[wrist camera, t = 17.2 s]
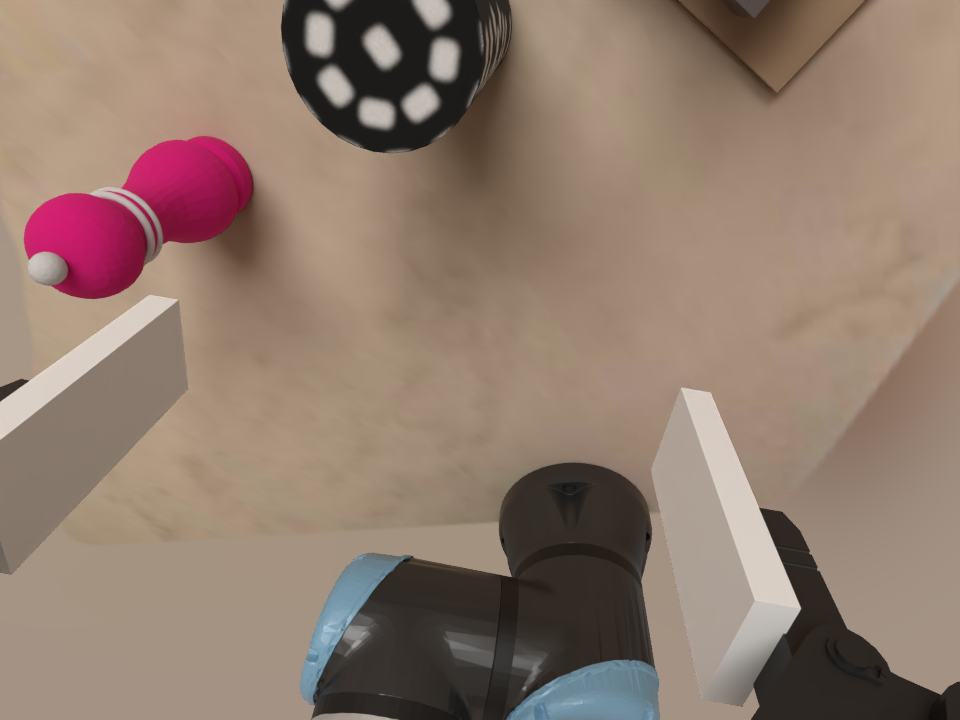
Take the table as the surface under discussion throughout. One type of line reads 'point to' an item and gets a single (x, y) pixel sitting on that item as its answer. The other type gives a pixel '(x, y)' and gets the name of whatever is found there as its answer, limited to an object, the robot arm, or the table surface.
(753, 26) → the caddy board
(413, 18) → the spotted tube
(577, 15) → the table surface
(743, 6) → the bottle socket
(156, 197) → the pepper mill
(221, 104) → the table surface
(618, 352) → the table surface
